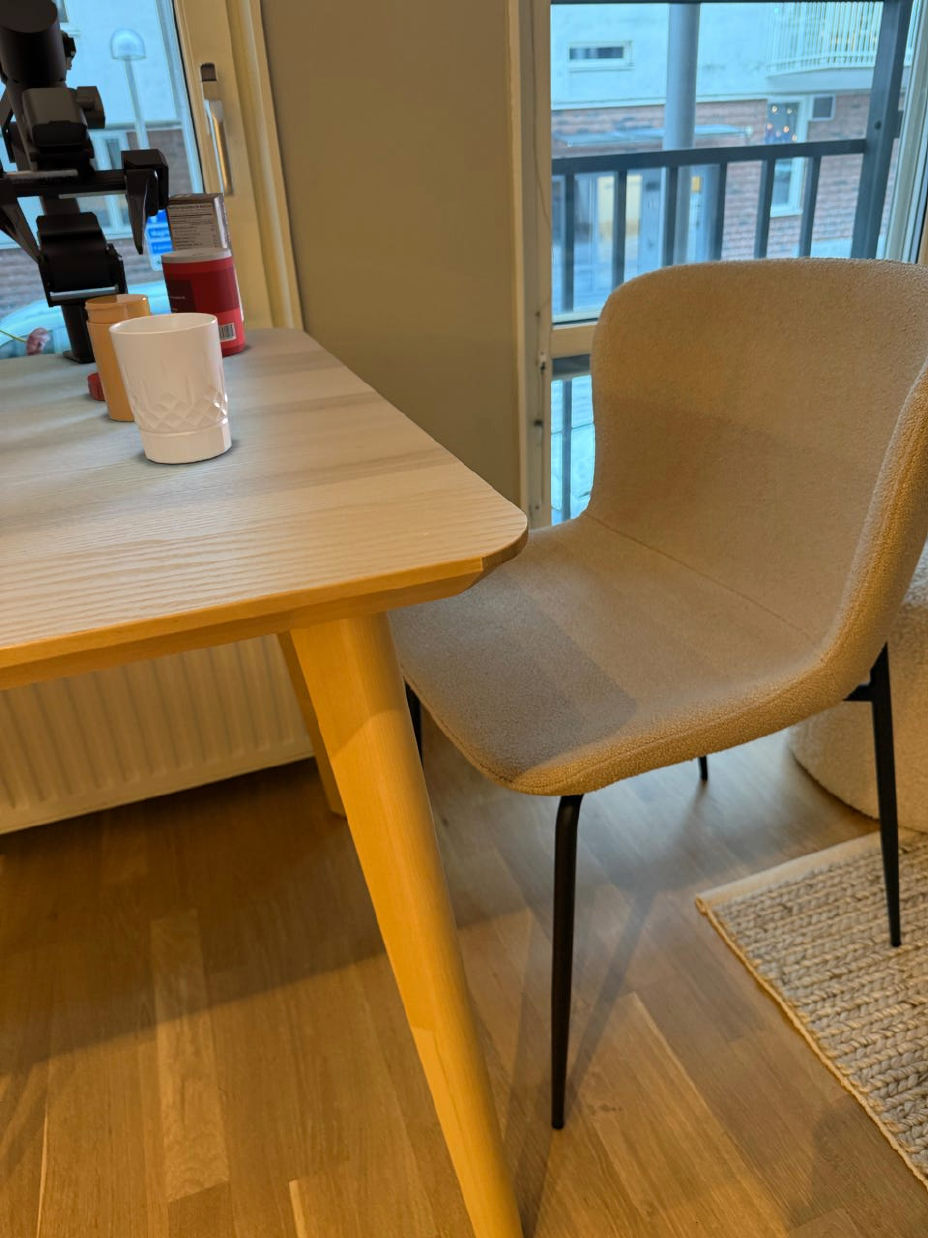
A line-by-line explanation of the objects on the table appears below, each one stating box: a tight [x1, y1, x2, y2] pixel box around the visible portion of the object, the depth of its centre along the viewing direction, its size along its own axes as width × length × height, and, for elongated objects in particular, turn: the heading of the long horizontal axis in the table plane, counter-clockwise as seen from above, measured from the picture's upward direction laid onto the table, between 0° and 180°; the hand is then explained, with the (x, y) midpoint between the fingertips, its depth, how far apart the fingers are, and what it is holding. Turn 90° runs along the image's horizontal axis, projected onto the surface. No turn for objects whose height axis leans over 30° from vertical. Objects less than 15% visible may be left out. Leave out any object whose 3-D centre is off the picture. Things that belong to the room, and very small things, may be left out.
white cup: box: [109, 313, 232, 464], centre depth 70 cm, size 8×8×10 cm
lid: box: [86, 371, 105, 401], centre depth 90 cm, size 6×7×2 cm
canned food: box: [160, 248, 246, 358], centre depth 103 cm, size 8×8×11 cm
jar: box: [85, 293, 155, 422], centre depth 81 cm, size 6×6×10 cm
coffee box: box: [164, 192, 245, 323], centre depth 115 cm, size 9×6×16 cm
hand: (91, 256), depth 85 cm, fingers open, 9 cm apart
